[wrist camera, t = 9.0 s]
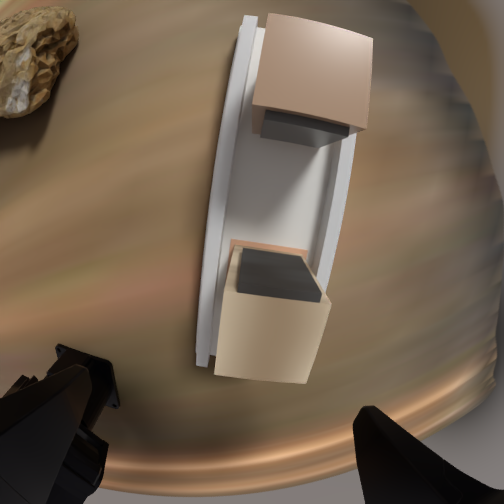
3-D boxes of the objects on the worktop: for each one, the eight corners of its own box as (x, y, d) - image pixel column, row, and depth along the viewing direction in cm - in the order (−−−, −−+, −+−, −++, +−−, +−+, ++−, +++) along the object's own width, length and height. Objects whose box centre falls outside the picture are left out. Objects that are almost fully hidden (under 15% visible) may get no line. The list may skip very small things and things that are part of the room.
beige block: (303, 248, 17) (334, 295, 10) (288, 313, 18) (305, 383, 12) (235, 237, 17) (225, 280, 10) (226, 305, 18) (214, 374, 11)
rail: (299, 357, 21) (317, 435, 13) (197, 345, 20) (175, 422, 13) (355, 55, 14) (408, 3, 7) (240, 32, 14) (234, -40, 6)
